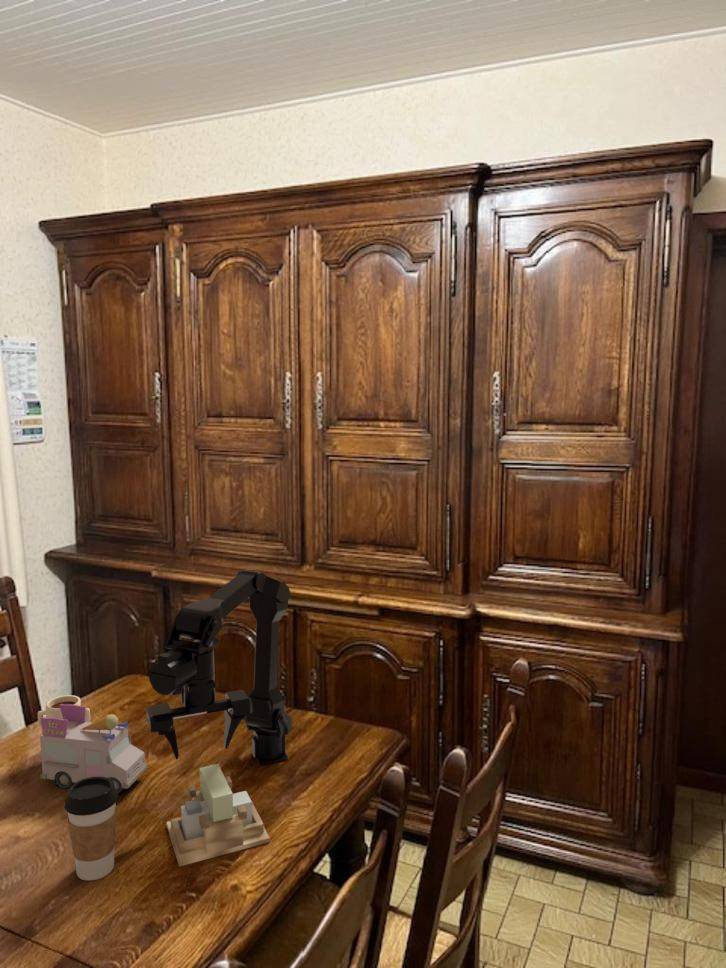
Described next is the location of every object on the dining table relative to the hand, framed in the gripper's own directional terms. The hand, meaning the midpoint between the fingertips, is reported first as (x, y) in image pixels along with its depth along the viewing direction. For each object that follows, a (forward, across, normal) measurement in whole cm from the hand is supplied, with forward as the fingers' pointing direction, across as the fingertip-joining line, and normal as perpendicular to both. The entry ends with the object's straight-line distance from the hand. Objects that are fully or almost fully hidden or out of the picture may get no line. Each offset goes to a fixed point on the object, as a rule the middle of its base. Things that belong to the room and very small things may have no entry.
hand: (201, 753), depth 135 cm
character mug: (+13, +23, -34) cm, 43 cm away
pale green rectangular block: (+7, -1, +7) cm, 10 cm away
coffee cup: (+13, +20, +8) cm, 25 cm away
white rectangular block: (+12, -1, +7) cm, 14 cm away
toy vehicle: (+13, +18, -21) cm, 30 cm away
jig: (+12, -1, +7) cm, 14 cm away
